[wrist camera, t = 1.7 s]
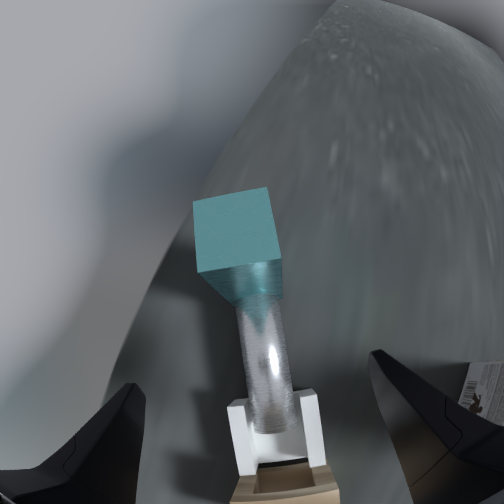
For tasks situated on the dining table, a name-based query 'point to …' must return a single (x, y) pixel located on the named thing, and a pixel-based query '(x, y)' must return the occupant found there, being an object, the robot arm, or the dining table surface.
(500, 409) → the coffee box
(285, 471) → the socket
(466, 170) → the dining table surface
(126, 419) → the robot arm
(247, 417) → the white notched block
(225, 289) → the teal and silver mallet
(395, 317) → the dining table surface
